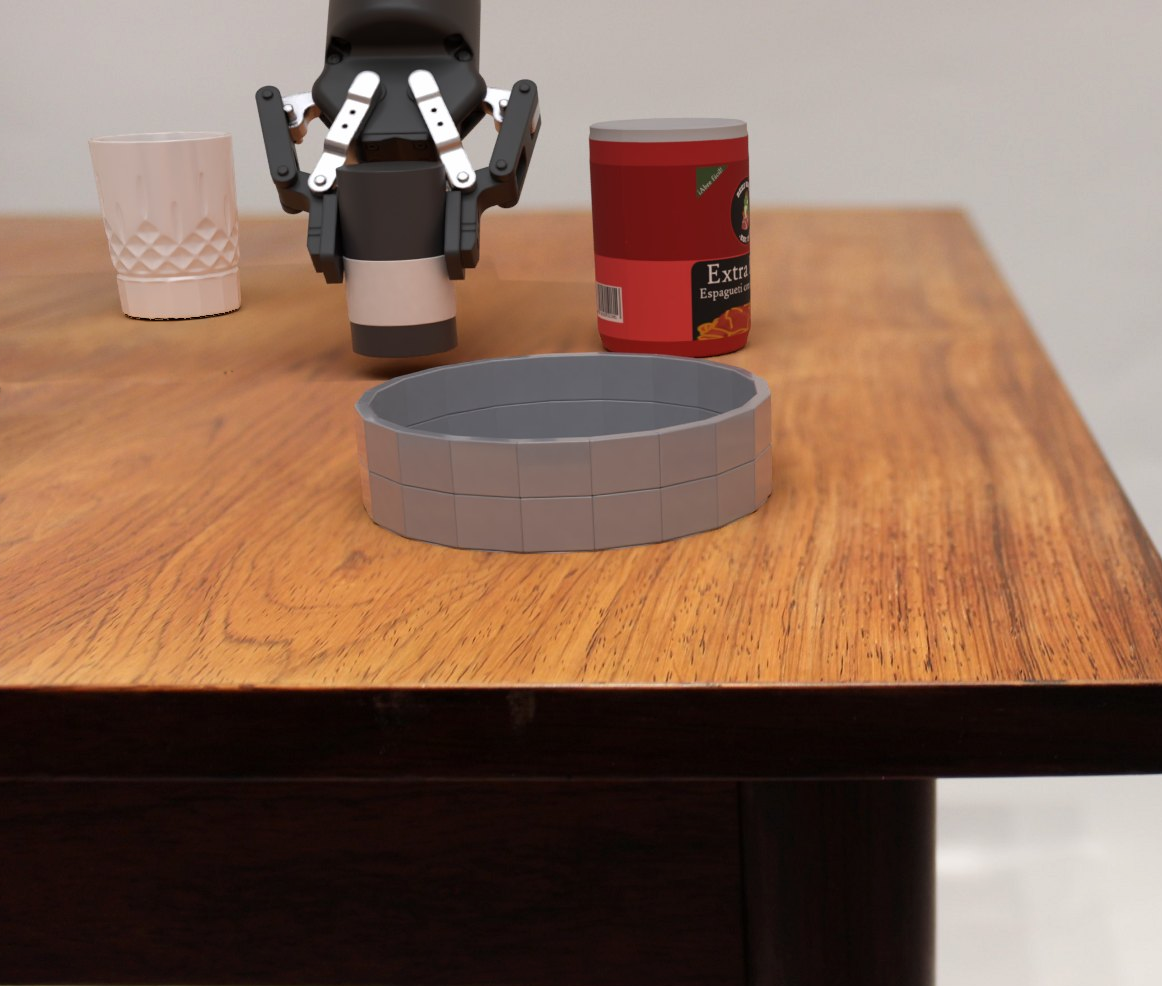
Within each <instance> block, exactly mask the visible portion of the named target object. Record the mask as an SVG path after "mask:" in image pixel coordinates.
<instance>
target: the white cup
mask: <svg viewBox="0 0 1162 986" xmlns="http://www.w3.org/2000/svg"><path fill="white" fill-rule="evenodd" d="M87 144H88V149H89V154H90V159H91V165H92V170H93V175H94V179H95V186H96V190H97V197H98V201H99V207H100V212H101V217H102V223H103V228H104V232H105V236H106V238H107V244H108V251H109V257H110V260H111V262H112V263H111V264H113V267H114V270H115V272H116V273H117V274H116V277H115V278H116V283H117V289H118V294H119V301H120V306H121V310H122V313H123V312H124V313H126V314H128V315H132V316H138V317H152V318H155V317H157V318H160V317H161V318H163V317H166V318H167V317H193V316H204V315H212V314H218V313H224V314H226V313H225V312H228V313H230V312H229V311H231V312H233V311H232V310H234V311H236V310H235V309H237V310H238V309H239V308H240V307H241V305H242V291H241V279H240V268H239V266H238V264H239V263H240V259H241V254H240V253H241V251H240V236H239V221H238V217H239V215H238V199H237V185H236V173H235V171H236V170H235V161H234V160H235V157H234V146H233V135H232V133H230V132H227V131H209V130H208V131H205V130H204V131H203V130H199V131H197V130H196V131H195V130H193V131H192V130H191V131H155V132H137V133H135V132H134V133H123V134H121V133H120V134H111V135H103V136H102V135H101V136H95V137H91V138H88V139H87ZM218 315H219V314H218Z"/></svg>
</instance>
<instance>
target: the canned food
mask: <svg viewBox="0 0 1162 986" xmlns="http://www.w3.org/2000/svg"><path fill="white" fill-rule="evenodd" d="M588 151H589V158H588V159H589V160H588V162H589V177H590V179H589V183H590V200H591V202H590V203H591V220H592V221H591V222H592V236H593V237H592V241H593V261H594V276H595V277H594V278H595V281H594V282H595V298H596V299H595V300H596V318H597V330H598V333H599V337H600V339H601V342H602V346H603V348H605V349H606V350H608V352H614V353H642V354H662V355H671V356H680V357H689V358H704V357H705V358H706V357H713V356H718V355H724V354H728V353H732V352H736V351H738V350H741V349H742V348H744V347H745V346H746V344H747V342H748V338H749V336H750V335H749V334H750V330H751V328H752V309H751V308H752V302H751V300H752V299H751V295H752V294H751V293H752V291H751V289H752V288H751V227H750V226H751V215H750V214H751V212H750V211H751V209H750V208H751V207H750V206H751V205H750V204H751V203H750V202H751V201H750V200H751V199H750V198H751V197H750V152H749V151H750V150H749V132H748V123H747V122H746V121H744V120H742V119H737V118H722V117H659V118H657V117H656V118H654V117H653V118H633V119H632V118H630V119H619V120H617V119H616V120H608V121H599V122H595V123H592V124H591V125H589V135H588Z"/></svg>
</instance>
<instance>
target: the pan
mask: <svg viewBox="0 0 1162 986" xmlns="http://www.w3.org/2000/svg"><path fill="white" fill-rule="evenodd" d="M353 413H354V422H355V433H356V442H357V444H356V445H357V454H358V464H359V475H360V476H359V477H360V486H361V487H360V488H361V496H362V505H363V507H364V508H365V511H366V514H367V515H368V516H369V518H370V520H371V521H372V522H373V523H375V524H376V525H378V526H379V527H380V528H382V529H383V530H386V531H388V532H390V533H391V534H395V535H397V536H399V537H403V538H405V539H408V540H411V541H416V542H420V543H423V544H427V545H433V546H437V547H443V548H449V549H457V550H465V551H474V552H485V553H486V552H487V553H498V554H499V553H500V554H530V555H531V554H532V555H534V554H535V555H537V554H538V555H539V554H569V553H570V554H572V553H573V554H574V553H591V552H601V551H603V552H604V551H614V550H622V549H623V550H624V549H629V548H630V549H631V548H637V547H643V546H645V547H646V546H651V545H656V544H657V545H658V544H662V543H667V542H668V543H669V542H672V541H673V542H674V541H677V540H682V539H685V538H690V537H694V536H695V537H696V536H698V535H701V534H705V533H708V532H712V531H714V530H718V529H721V528H723V527H726V526H728V525H731V524H733V523H736V522H738V521H741V520H742V519H744V518H746V517H748V516H750V515H751V514H752V513H755V512H756V511H757V510H758V509H760V508H761V507H762V506H763V505H764V504H765V503H766V501H767V500H768V498H769V496H770V495H771V494H772V492H773V477H772V476H773V470H772V469H773V461H772V459H773V457H772V454H773V453H772V449H773V448H772V393H771V390H770V386H769V384H768V380H767V379H765V378H763V377H761V376H759V375H758V374H756V373H754V372H752V371H750V370H748V369H746V368H744V367H739V366H735V365H731V364H728V363H724V362H723V363H722V362H720V361H719V362H718V361H713V360H709V359H705V358H699V357H694V358H689V357H680V356H671V355H662V354H642V353H614V352H611V351H603V352H602V351H595V352H594V351H591V352H560V353H559V352H558V353H557V352H556V353H555V352H553V353H537V354H525V355H516V356H514V355H513V356H503V357H493V358H492V357H491V358H483V359H477V360H472V361H471V360H470V361H464V362H458V363H453V364H445V365H440V366H434V367H429V368H426V369H423V370H418V371H416V372H412V373H408V374H404V375H400V376H396V377H393V378H391V379H389V380H387V381H384V382H382V383H380V384H377V385H376V386H374V387H371V388H368V389H367V390H365V391H363V393H362V394H361V395H360V397H359V398H358V399H357V401H356V402H355V403H354V405H353Z"/></svg>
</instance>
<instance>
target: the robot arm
mask: <svg viewBox="0 0 1162 986" xmlns="http://www.w3.org/2000/svg"><path fill="white" fill-rule="evenodd" d="M481 15H482V0H328V9H327V23H326V36H325V50H324V64H323V68H322V71H321V72H320V74H319V75H318V77H317V78H316V79H315V81H314V83H313V84H312V87H311V90H306V91H302V92H296V93H292V94H287V95H286V94H285V95H282V94H281V91H280V89H279V88H277V86H274V85H264V86H261V87H260V88H259V89H258V90H256V92H255V94H254V97H255V98H254V99H255V103H256V108H257V114H258V118H259V124H260V128H261V133H262V134H261V135H262V139H263V144H264V149H265V154H266V158H267V164H268V169H269V174H270V177H271V181H272V183H273V184H274V186H275V188H276V189H275V190H276V191H277V194H278V200H279V203H280V206H281V209H282V211H283V212H284V213H287V214H289V215H298V214H301V213H302V212H305V213H308V220H307V221H308V224H307V236H306V249H307V251H308V254H309V257H310V260H311V264H312V266H313V268H314V271H315V273H316V274H322V275H323V277H324V280H325V283H326V285H337V284H338V285H342V284H343V283H344V279H345V276H344V265H343V255H344V254H343V243H342V233H341V223H340V212H339V202H338V191H337V181H336V170H335V169H336V168H337V167H340V166H344V165H351V164H360V163H373V162H393V161H425V162H438V163H442V164H444V165H445V176H446V190H447V191H446V215H445V245H444V253H445V262H446V267H447V271H448V276H449V280H454V281H465V280H466V269H469V270H470V269H476V267H477V265H478V264H479V261H480V257H481V256H480V252H481V251H480V250H481V218H482V216H483V214H484V212H486V210H488V209H489V208H493V207H495V206H497V207H499V208H501V209H512V208H514V207H515V206H516V205H518V204H519V201H520V198H521V195H522V191H523V188H524V186H525V185H524V184H525V181H526V178H527V175H528V171H529V168H530V164H531V161H532V158H533V154H534V150H535V147H536V144H537V140H538V137H539V134H540V131H541V130H540V129H541V126H542V115H541V108H540V107H541V106H540V99H539V91H538V85H537V83H535V81H533V80H531V79H527V78H525V79H519V80H517V81H515V82H514V84H513V85H512V87H511V89H506V88H501V87H495V86H494V87H493V86H487V82H486V80H485V78H484V77H483V75H482V74H481V73H480V61H481V57H480V56H481V21H482V20H481V17H482V16H481ZM487 115H489V116H491V117H492V118H493V123H494V129H495V131H496V132H497V137H496V140H495V143H494V147H493V149H492V152H491V156H490V160H489V163H488V166H485V167H481V168H479V169H474V168H473V166H472V163H471V162H470V159H469V157H468V155H467V152H466V151H465V147H464V146H463V140H464V139H465V138H466V137H467V136H468V135H469V134H470V133H471V132H472V131H473V130H474V129H475V128H476V127H477V126H478V124H480V122H481V121H482V120H483V119H484V118H485V117H486V116H487ZM315 119H319V120H320V121H321V122H322V124H323V125H324V126H325V127H326V128H327V129H328V131H327V133H326V135H325V137H324V141H323V150H322V154H321V155H320V156H319V158H318V160H317V162H316V163H315V166H314V167H313V169H312V171H311V173H309V172H306V171H302V170H301V168H300V163H299V157H298V151H297V149H296V145H301V144H303V142H304V137H306V135H307V133H308V126H309V124H310V122H312V121H313V120H315Z"/></svg>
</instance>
